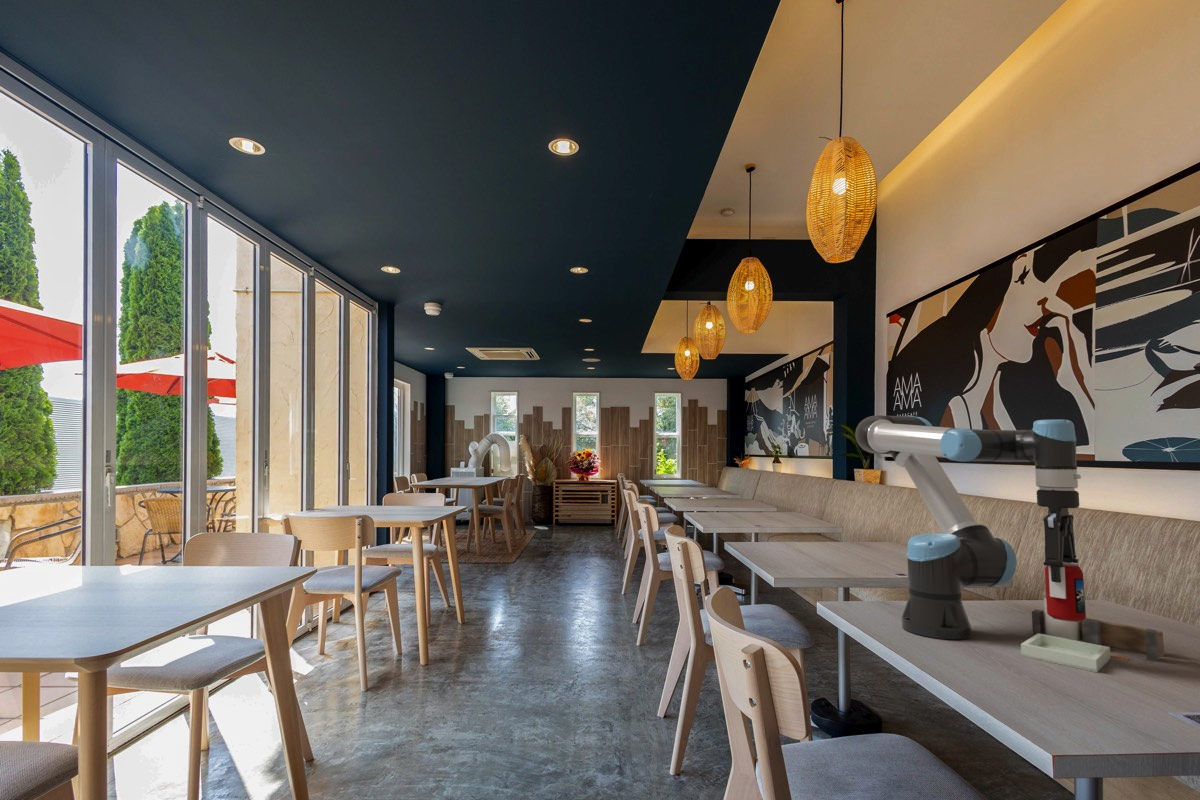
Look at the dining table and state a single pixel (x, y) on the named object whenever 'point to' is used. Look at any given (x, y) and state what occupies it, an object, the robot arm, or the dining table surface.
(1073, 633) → the ceramic jar
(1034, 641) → the tray
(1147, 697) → the dining table surface
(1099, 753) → the dining table surface
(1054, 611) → the beverage can
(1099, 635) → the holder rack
